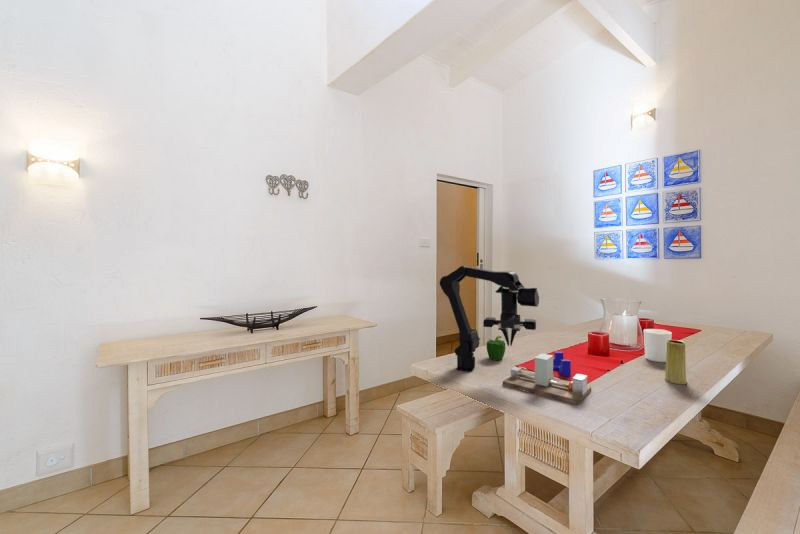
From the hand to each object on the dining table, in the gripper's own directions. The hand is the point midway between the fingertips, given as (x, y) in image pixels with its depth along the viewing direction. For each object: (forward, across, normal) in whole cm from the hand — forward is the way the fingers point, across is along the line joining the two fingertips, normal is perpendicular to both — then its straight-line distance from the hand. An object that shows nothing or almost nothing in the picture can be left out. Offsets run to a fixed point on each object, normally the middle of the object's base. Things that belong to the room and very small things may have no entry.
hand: (509, 345), depth 132 cm
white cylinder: (+12, +56, +41) cm, 70 cm away
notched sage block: (+10, +12, -7) cm, 17 cm away
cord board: (+12, +13, -7) cm, 19 cm away
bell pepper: (+12, -8, +21) cm, 26 cm away
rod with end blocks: (+11, +13, -7) cm, 18 cm away
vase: (+12, +55, +14) cm, 58 cm away
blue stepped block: (+12, +18, +13) cm, 25 cm away
